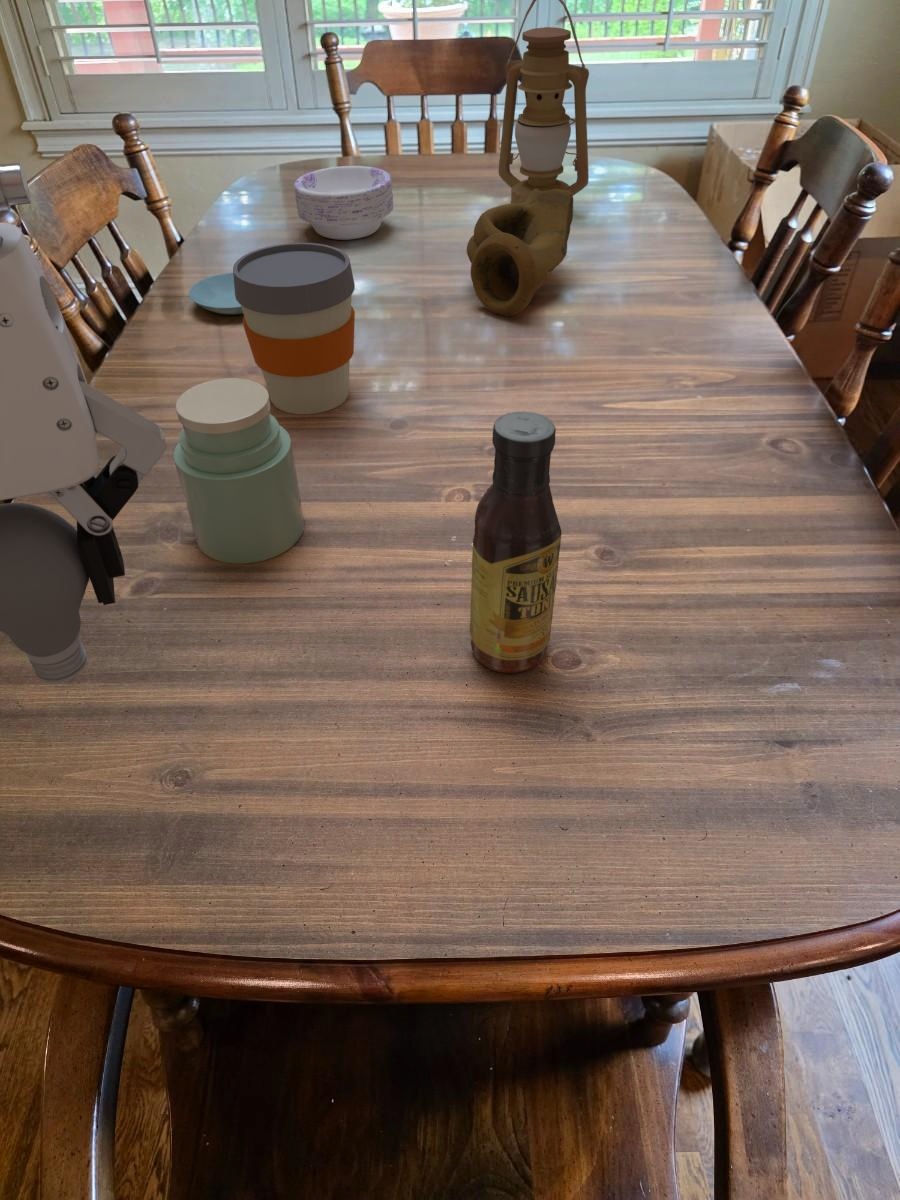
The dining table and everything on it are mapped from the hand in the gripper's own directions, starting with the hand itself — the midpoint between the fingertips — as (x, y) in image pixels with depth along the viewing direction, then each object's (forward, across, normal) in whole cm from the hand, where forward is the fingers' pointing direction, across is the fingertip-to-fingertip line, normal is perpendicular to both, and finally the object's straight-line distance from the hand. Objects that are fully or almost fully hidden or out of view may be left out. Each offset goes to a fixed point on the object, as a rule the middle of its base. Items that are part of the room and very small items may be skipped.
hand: (33, 598), depth 42 cm
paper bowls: (+21, -40, -105) cm, 114 cm away
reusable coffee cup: (+21, -23, -54) cm, 63 cm away
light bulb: (+5, 0, 0) cm, 5 cm away
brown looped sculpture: (+20, -58, -76) cm, 98 cm away
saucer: (+21, -19, -83) cm, 87 cm away
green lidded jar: (+21, -12, -31) cm, 39 cm away
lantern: (+20, -72, -102) cm, 127 cm away
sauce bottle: (+21, -29, -8) cm, 37 cm away
